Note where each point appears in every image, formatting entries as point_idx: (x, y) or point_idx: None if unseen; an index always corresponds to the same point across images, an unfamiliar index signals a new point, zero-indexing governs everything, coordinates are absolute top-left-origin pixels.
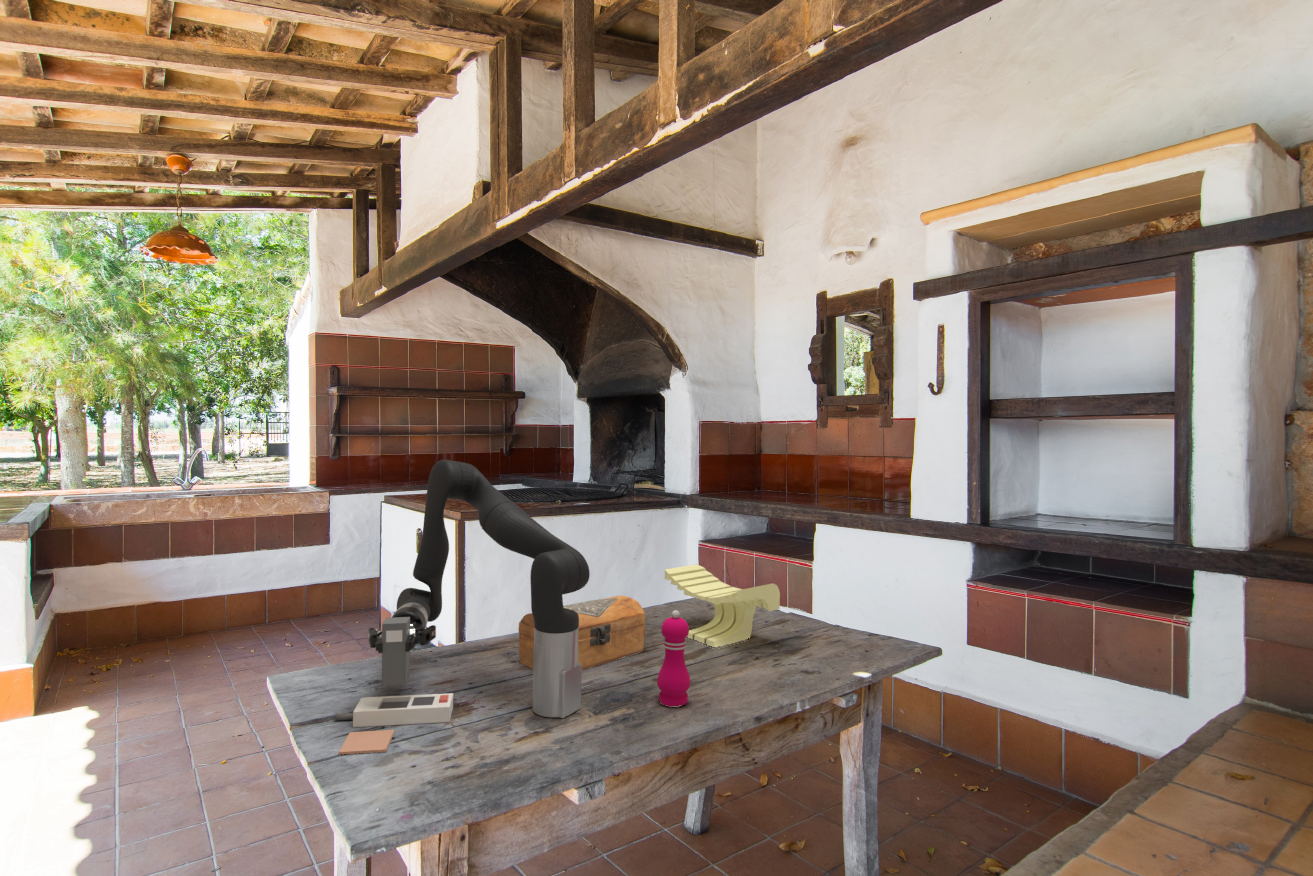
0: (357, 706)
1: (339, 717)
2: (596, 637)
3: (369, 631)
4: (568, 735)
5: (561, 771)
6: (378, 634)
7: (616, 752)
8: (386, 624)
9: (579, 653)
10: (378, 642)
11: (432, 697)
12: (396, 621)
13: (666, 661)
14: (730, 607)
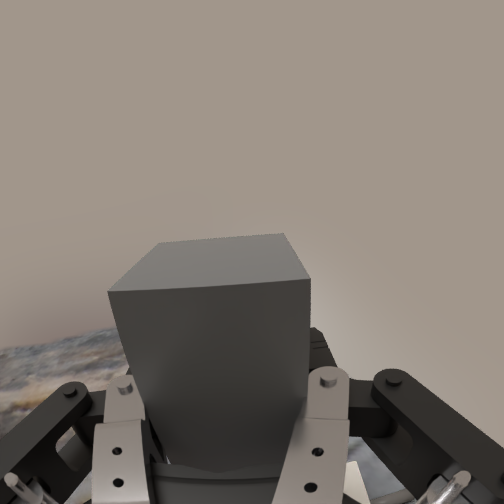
0: (362, 487)
1: (400, 490)
2: None
3: (474, 426)
4: (5, 391)
5: (56, 345)
6: (424, 495)
7: (2, 356)
8: (261, 237)
9: None
10: (312, 339)
11: None
12: (210, 247)
13: None
14: None
